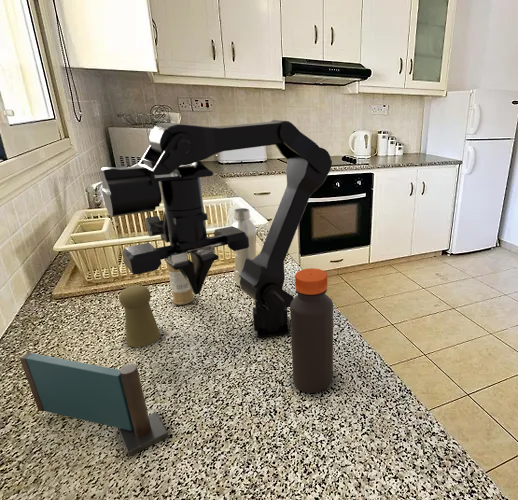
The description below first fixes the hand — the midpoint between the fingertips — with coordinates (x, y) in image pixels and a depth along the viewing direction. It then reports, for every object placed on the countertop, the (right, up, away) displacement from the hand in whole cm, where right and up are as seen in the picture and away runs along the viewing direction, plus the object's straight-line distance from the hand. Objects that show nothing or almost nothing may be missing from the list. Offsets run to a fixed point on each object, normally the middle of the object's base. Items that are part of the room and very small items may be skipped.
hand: (196, 293), depth 65 cm
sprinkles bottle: (-13, -5, +24) cm, 27 cm away
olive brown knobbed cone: (-14, -10, +9) cm, 20 cm away
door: (-11, -17, -11) cm, 23 cm away
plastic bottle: (0, -2, +32) cm, 32 cm away
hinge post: (-2, -19, -12) cm, 22 cm away
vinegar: (+20, -15, -1) cm, 25 cm away
